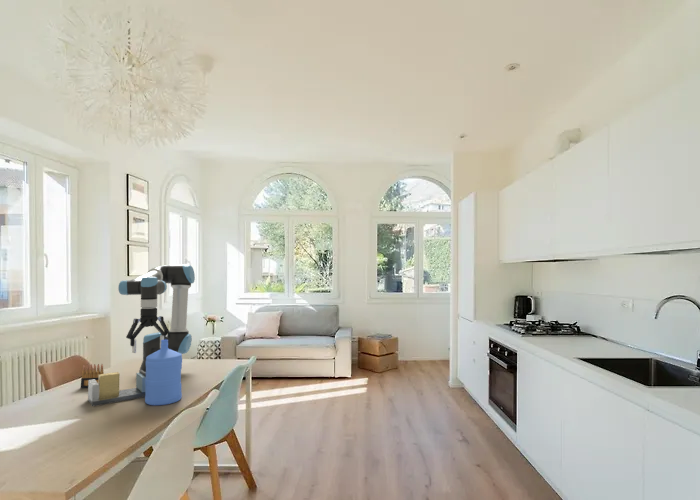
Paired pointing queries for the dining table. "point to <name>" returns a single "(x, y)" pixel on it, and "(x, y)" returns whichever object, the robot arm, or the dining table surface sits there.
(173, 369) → the water jug
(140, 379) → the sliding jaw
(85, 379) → the ammunition clip
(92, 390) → the grey l-shaped bracket
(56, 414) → the dining table surface
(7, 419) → the dining table surface
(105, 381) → the brass block
